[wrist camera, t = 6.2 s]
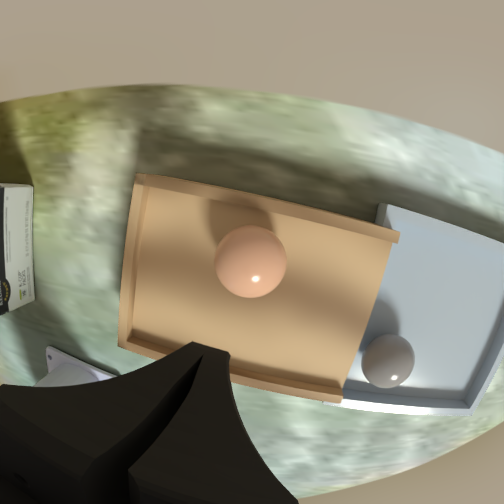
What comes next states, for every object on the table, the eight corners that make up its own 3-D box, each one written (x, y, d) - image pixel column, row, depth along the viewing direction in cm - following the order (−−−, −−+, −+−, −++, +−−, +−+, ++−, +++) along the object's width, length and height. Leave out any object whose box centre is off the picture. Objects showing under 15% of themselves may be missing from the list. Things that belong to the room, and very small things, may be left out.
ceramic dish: (463, 403, 19) (471, 415, 18) (320, 388, 20) (322, 404, 19) (524, 252, 17) (538, 257, 15) (379, 202, 18) (387, 204, 16)
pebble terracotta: (278, 292, 17) (275, 316, 14) (216, 277, 17) (200, 297, 14) (294, 230, 16) (295, 240, 13) (229, 215, 16) (214, 221, 13)
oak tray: (334, 376, 20) (340, 403, 17) (138, 326, 21) (117, 346, 18) (383, 225, 18) (400, 232, 15) (159, 175, 19) (136, 172, 16)
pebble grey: (403, 380, 18) (398, 406, 15) (358, 363, 20) (347, 386, 17) (423, 336, 17) (423, 357, 15) (377, 319, 19) (368, 336, 16)
